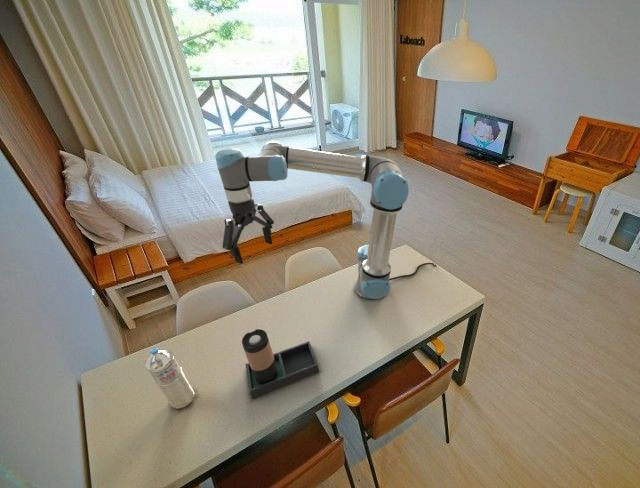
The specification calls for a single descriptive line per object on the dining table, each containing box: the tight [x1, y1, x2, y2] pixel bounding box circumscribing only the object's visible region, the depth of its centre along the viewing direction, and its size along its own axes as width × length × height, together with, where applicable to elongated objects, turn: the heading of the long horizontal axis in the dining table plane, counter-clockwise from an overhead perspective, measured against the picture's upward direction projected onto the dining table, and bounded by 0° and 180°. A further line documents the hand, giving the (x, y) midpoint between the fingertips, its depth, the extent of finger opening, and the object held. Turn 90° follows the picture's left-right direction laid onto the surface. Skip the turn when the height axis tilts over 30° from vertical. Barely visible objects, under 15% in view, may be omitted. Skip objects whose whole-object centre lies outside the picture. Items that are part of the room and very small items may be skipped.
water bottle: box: [144, 347, 196, 410], centre depth 97 cm, size 7×7×25 cm
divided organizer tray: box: [245, 340, 320, 400], centre depth 113 cm, size 22×12×4 cm, turn 118°
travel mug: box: [241, 328, 278, 385], centre depth 106 cm, size 8×8×20 cm
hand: (255, 252), depth 114 cm, fingers open, 13 cm apart
